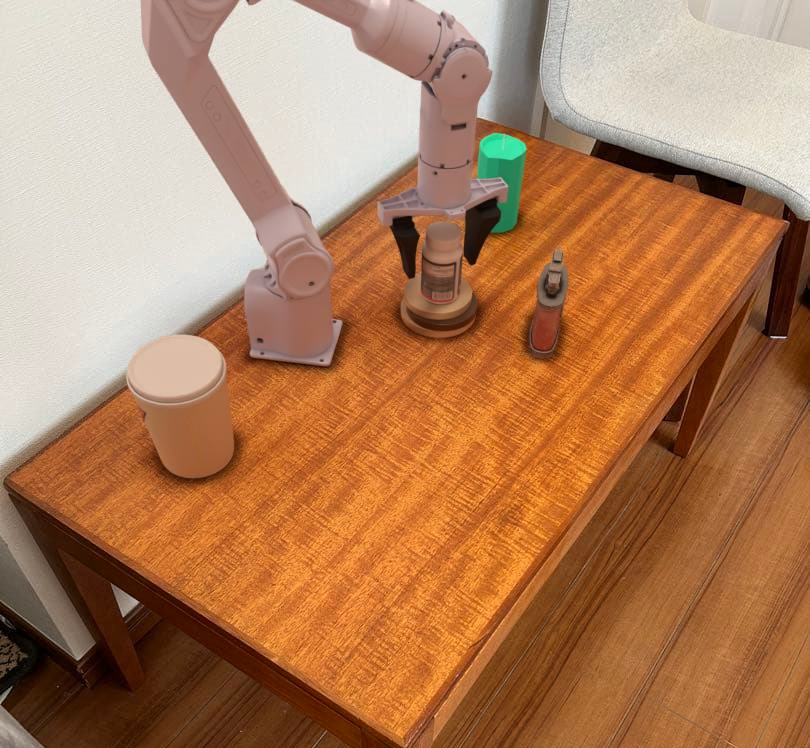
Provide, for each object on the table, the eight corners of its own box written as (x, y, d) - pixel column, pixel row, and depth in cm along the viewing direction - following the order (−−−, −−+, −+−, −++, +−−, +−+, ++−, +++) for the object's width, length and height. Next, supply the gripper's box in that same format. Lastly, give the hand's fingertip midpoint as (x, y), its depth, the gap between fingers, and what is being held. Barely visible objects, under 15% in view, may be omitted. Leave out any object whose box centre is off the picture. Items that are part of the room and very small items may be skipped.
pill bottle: (436, 275, 103) (440, 213, 96) (467, 291, 101) (473, 229, 95) (412, 294, 101) (413, 232, 94) (443, 311, 99) (447, 248, 92)
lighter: (554, 360, 99) (569, 288, 91) (525, 355, 99) (537, 284, 91) (560, 316, 103) (575, 244, 95) (533, 312, 104) (545, 241, 96)
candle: (466, 211, 117) (473, 125, 107) (507, 204, 118) (517, 118, 108) (482, 236, 113) (490, 149, 104) (523, 228, 114) (535, 142, 105)
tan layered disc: (394, 333, 101) (395, 312, 99) (406, 286, 107) (407, 265, 104) (472, 342, 100) (474, 321, 98) (480, 294, 106) (482, 273, 103)
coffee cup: (169, 414, 92) (144, 326, 83) (252, 425, 92) (236, 338, 82) (139, 478, 87) (109, 392, 77) (228, 490, 86) (208, 405, 77)
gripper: (393, 187, 84) (393, 300, 95) (526, 161, 87) (510, 273, 98) (370, 151, 88) (371, 264, 99) (497, 128, 91) (485, 240, 102)
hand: (439, 266), depth 98 cm, fingers open, 7 cm apart
